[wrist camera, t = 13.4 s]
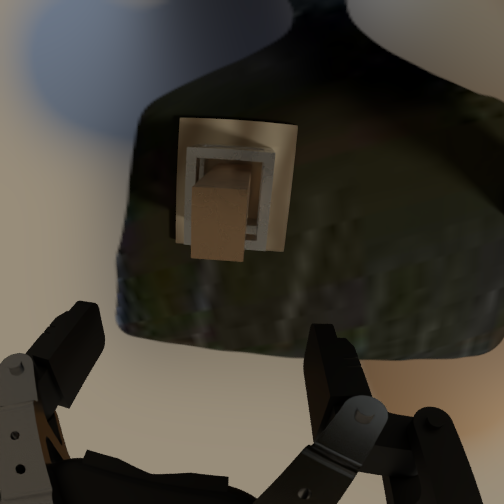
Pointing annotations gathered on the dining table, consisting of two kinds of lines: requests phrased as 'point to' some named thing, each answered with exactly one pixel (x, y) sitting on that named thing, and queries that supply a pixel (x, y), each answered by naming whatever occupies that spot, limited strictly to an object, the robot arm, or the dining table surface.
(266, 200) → the collar frame
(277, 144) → the holder board
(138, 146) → the dining table surface
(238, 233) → the tan wooden post
